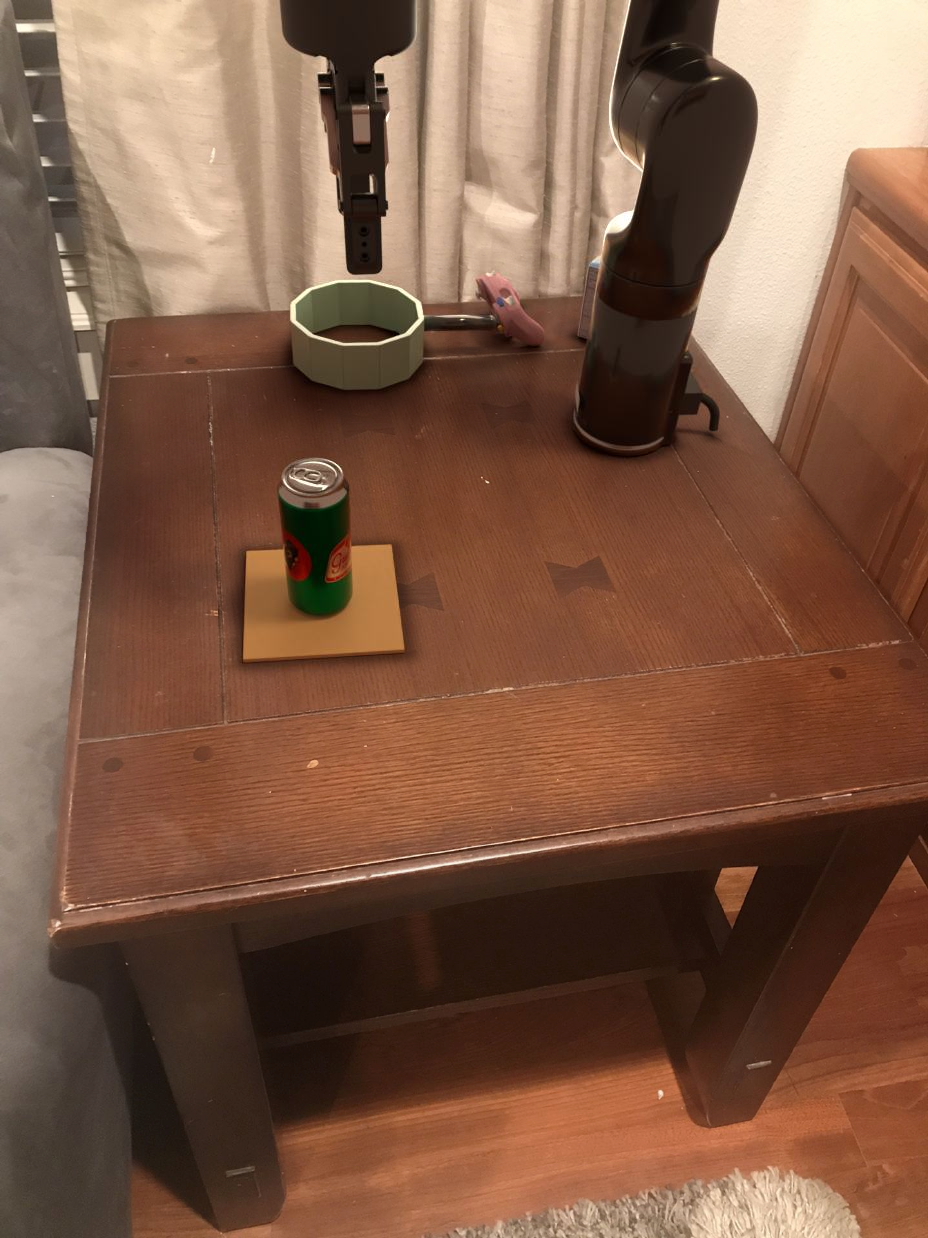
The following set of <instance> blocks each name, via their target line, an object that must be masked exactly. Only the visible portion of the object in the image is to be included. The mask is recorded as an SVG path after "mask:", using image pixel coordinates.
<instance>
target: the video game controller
mask: <svg viewBox="0 0 928 1238" xmlns="http://www.w3.org/2000/svg"><path fill="white" fill-rule="evenodd" d="M475 282H476V285H477V288H478V289H477V290H476V289H475V290H474V295H475V297H476V299H477V300H478V301H482V300H484V301H485V302H486V304H487V306H488V308H489V310H490V312H491V315H493V316H495V318H496V319H497V324H499V325H497V328H498V331H499V332H500V333H503V334H504V336H505V337H506V338H508V337H510V336H512V337H513V338H514V339H516V340H517V341H519V342H521V343H522V344H525V345H529V346H535V347H536V346H540V345H542V344H543V343H544V341H545V339H546V332H545V330H544V328H543V327H542V326H541V325H540V324H539V323H538V322H536V321H535V320H534V319H532V318H531V317H530V316H529V315H528V314H527V313H526V312H525V310H524V309H523V308H522V305H521V303H520V301H521V298H520V294H519V292H518V291H517V290H516V289H515V288H514V286H513V285H512V283H511V282H510V281H509V280H508V279H507V278H505V277H503V276H501V274H499V273H498V272H496V271H495V269H493V270H492V272H486V273H483V274H481V275H480V276H478V277H476V278H475Z"/></svg>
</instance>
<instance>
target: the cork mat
mask: <svg viewBox="0 0 928 1238" xmlns="http://www.w3.org/2000/svg"><path fill="white" fill-rule="evenodd" d="M245 552H246V553H245V578H244V579H245V583H244V585H245V586H244V609H243V610H244V612H243V613H244V614H243V644H242V661H243V663H244V664H245V663H246V664H247V663H259V662H275V661H276V662H277V661H293V660H308V659H325V658H326V659H327V658H340V657H341V658H342V657H355V656H356V657H357V656H359V657H360V656H374V655H388V654H389V655H390V654H391V655H392V654H404V653H405V643H404V642H405V641H404V635H403V634H404V633H403V627H402V617H401V609H400V603H399V594H398V586H397V579H396V578H397V576H396V571H395V570H396V569H395V561H394V554H393V547H392V544H391V543H389V544H369V545H351V552H352V581H353V594H352V598H351V599H350V601H349V602H348V604H347V605H346V606H344V607H343V608H342V609H340V610H339V611H337V612H335V613H332V614H329V615H323V616H316V615H310V614H307V613H304V612H302V611H301V610H299V609H297V608H296V607H295V606H294V605H293V604H292V603H291V602H290V600H289V597H288V589H287V579H286V570H285V560H284V550H283V548H282V549H264V550H263V549H261V550H246V551H245Z"/></svg>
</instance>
